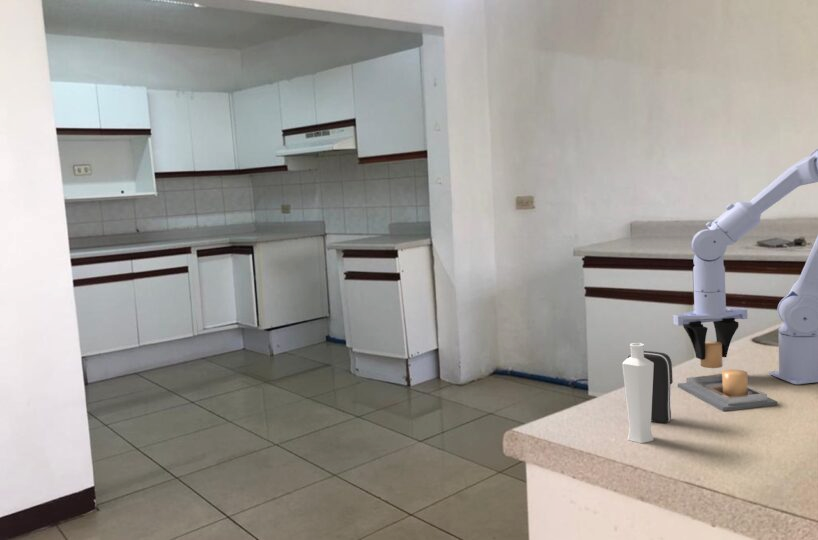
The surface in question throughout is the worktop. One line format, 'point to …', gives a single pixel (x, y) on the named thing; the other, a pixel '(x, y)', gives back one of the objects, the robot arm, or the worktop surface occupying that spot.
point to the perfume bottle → (638, 393)
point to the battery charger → (660, 385)
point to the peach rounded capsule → (712, 355)
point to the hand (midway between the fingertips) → (711, 357)
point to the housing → (727, 391)
